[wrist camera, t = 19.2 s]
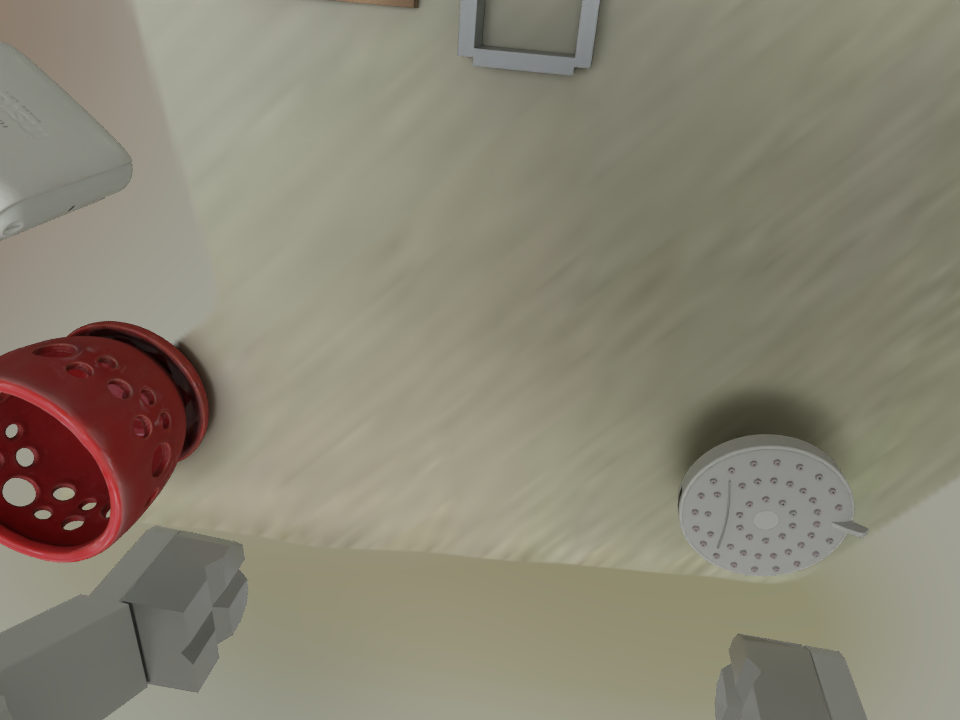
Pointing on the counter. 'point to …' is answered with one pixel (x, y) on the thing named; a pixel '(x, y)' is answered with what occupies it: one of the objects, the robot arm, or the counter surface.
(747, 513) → the showerhead
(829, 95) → the counter surface
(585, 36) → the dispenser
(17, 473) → the plant pot
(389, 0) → the pad
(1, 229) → the photo printer
